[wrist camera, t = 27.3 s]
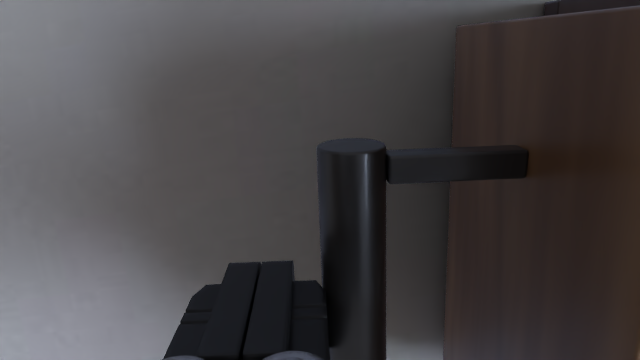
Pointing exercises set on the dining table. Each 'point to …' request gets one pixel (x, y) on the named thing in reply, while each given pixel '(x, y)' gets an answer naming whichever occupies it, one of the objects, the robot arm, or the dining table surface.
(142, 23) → the dining table surface
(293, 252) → the dining table surface
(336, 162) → the drawer
